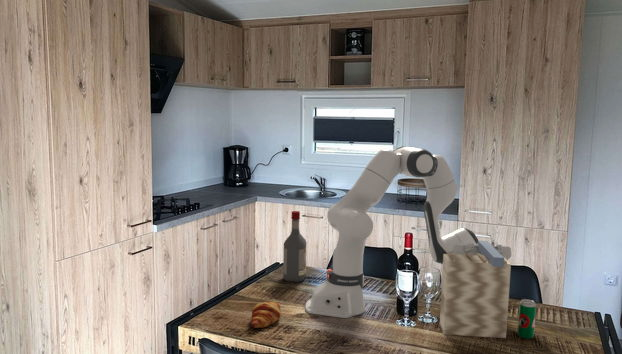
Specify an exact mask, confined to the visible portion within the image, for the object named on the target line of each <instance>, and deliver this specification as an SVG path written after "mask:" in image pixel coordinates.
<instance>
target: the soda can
mask: <svg viewBox="0 0 622 354" xmlns="http://www.w3.org/2000/svg"><path fill="white" fill-rule="evenodd" d="M536 313H537V304H536V302H535V301H534V300H532V299H526V298H522V299H521V300H520V302H519V308H518V319H517V335H518V336H519V337H520V338H523V339H527V340H531V339H533V338H534V337H535V327H536Z"/></svg>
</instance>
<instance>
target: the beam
mask: <svg viewBox="0 0 622 354" xmlns="http://www.w3.org/2000/svg"><path fill="white" fill-rule="evenodd" d="M493 246H494V245H492V244H491V243H490V242H489V241H487V240H479V241H478V250H479V251H480V252H481V253H482V254H483V256H484V257H485V258H486V259H487V260H488V261H489V262H490V263H491V265H492V266H493V267H504V257H503V256H502V255H501V254H500V253H499V252H498V251H497V250H496V249H495V248H494V247H493Z"/></svg>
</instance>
